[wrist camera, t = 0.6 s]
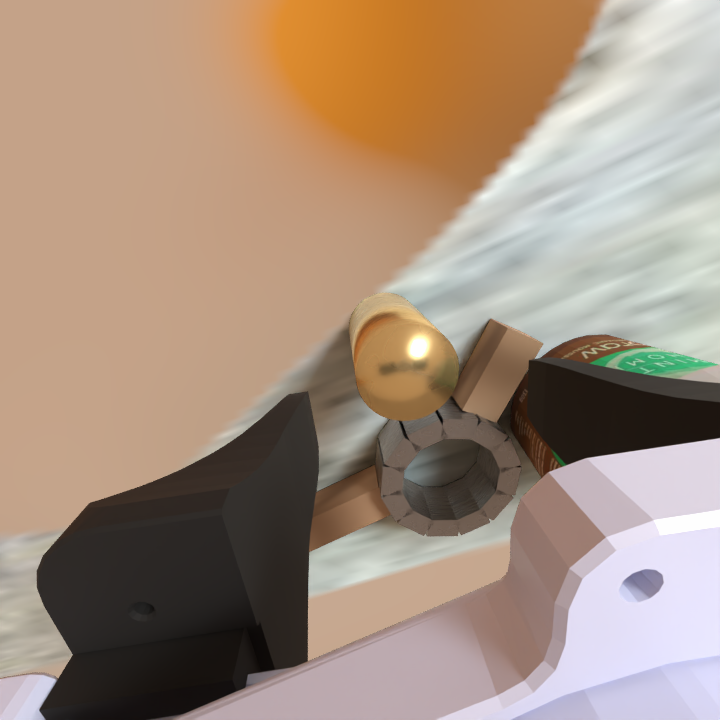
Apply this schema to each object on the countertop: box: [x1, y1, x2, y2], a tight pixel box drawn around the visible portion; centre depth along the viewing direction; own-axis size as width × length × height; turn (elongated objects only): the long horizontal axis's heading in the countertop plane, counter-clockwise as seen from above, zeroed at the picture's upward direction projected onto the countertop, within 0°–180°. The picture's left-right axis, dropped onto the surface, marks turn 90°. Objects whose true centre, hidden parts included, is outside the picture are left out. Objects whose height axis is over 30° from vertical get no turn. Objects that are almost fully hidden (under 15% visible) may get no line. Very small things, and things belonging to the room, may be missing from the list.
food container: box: [511, 335, 720, 478], centre depth 18 cm, size 12×6×10 cm, turn 108°
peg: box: [349, 293, 459, 421], centre depth 17 cm, size 4×4×7 cm
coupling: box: [309, 319, 543, 552], centre depth 22 cm, size 15×16×3 cm
